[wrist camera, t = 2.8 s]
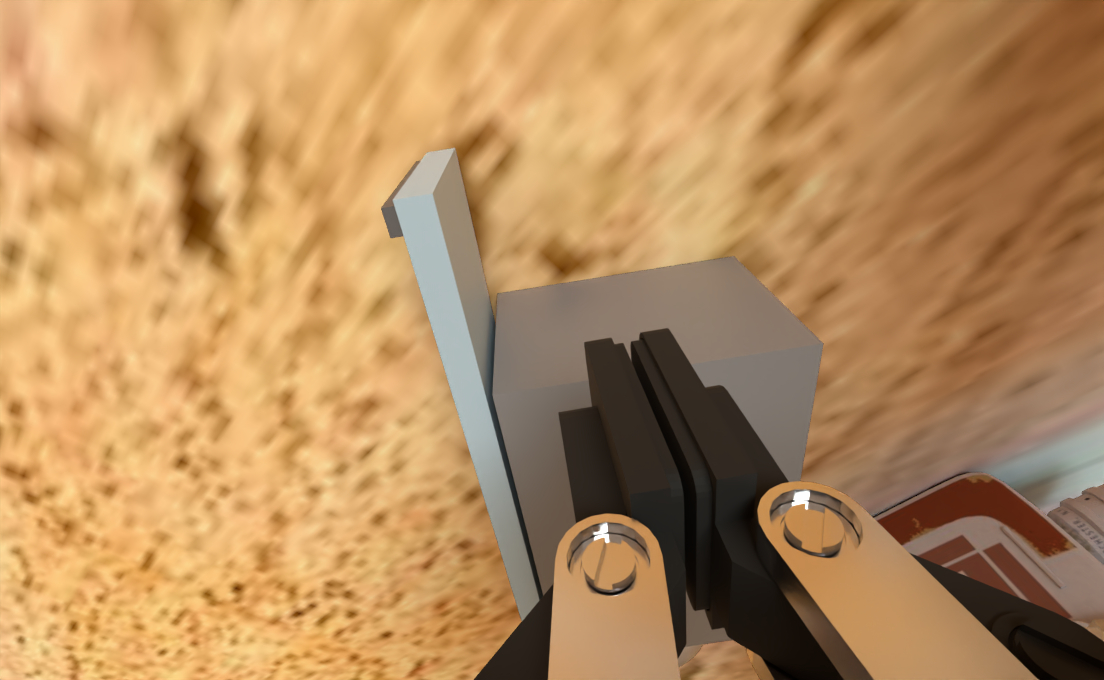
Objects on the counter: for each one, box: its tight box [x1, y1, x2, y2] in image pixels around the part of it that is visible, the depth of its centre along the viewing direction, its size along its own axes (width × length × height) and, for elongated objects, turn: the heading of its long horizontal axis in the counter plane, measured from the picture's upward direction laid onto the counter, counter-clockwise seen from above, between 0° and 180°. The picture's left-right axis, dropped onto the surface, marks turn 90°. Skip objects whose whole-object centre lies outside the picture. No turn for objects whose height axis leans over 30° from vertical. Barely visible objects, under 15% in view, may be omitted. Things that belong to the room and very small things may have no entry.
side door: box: [381, 148, 543, 621], centre depth 21 cm, size 23×2×6 cm, turn 8°
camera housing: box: [492, 256, 823, 667], centre depth 23 cm, size 20×10×8 cm, turn 8°
